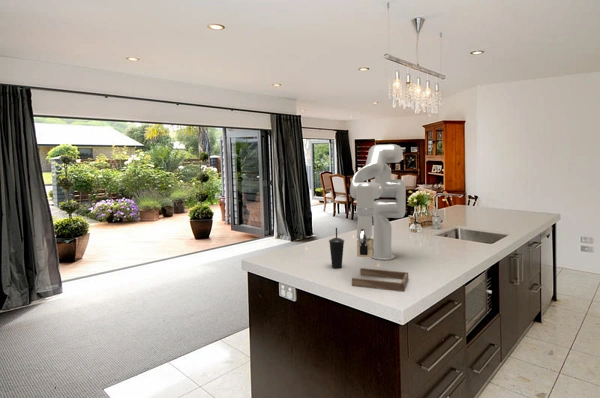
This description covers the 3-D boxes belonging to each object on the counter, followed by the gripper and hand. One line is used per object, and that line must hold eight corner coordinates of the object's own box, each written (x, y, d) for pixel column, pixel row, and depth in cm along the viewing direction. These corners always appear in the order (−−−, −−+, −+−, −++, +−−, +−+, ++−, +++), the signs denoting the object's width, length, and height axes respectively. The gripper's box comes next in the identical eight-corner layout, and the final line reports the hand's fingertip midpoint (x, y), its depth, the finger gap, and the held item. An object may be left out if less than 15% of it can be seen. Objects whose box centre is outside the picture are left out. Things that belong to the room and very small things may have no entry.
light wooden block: (360, 253, 162) (360, 237, 161) (373, 254, 159) (373, 238, 159) (357, 256, 156) (357, 240, 156) (370, 257, 154) (370, 241, 153)
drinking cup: (343, 264, 185) (342, 226, 183) (345, 269, 177) (345, 228, 175) (328, 265, 184) (327, 226, 182) (330, 269, 177) (329, 229, 175)
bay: (361, 274, 168) (360, 268, 168) (408, 279, 160) (408, 272, 160) (352, 285, 153) (352, 278, 153) (403, 291, 145) (403, 284, 145)
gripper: (361, 209, 166) (361, 248, 167) (351, 214, 150) (352, 257, 151) (377, 210, 163) (377, 249, 164) (369, 215, 147) (369, 258, 148)
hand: (365, 252), depth 158 cm, fingers closed on light wooden block, 6 cm apart
